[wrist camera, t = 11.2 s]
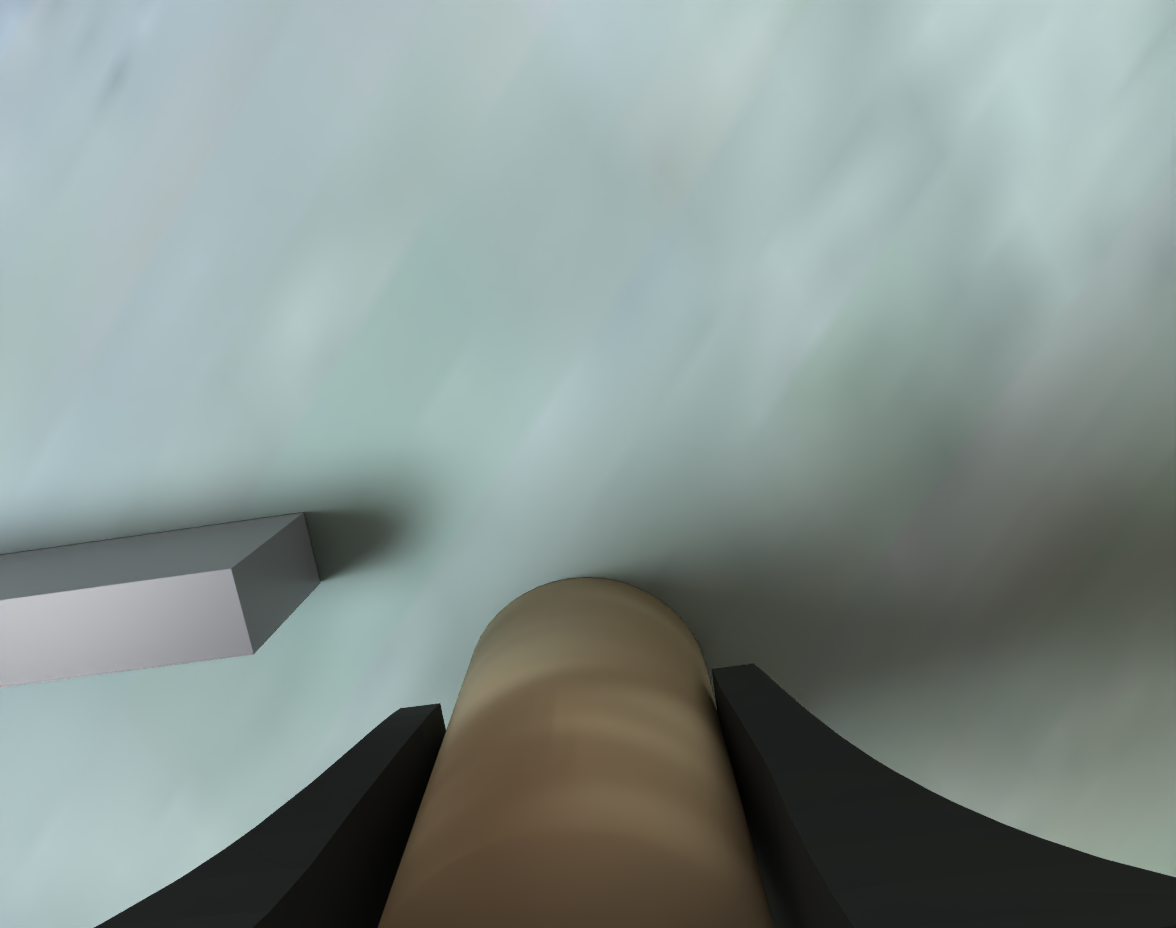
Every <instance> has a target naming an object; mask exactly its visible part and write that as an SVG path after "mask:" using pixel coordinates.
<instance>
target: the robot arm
mask: <svg viewBox="0 0 1176 928" xmlns="http://www.w3.org/2000/svg"><path fill="white" fill-rule="evenodd" d="M712 674H713V682H714V690H715V698H716V706H717V712H718V716H719V720H720V724H721V727H722V731H723V735H724V739H725V742H726V746H727V750H728V753H729V757H730V760H731V763H732V767H733V771H734V775H735V778H736V782H737V786H738V790H739V793H740V797H741V801H742V805H743V809H744V812H745V816H746V820H747V824H748V827H749V831H750V835H751V839H752V843H753V846H754V850H755V854H756V858H757V861H758V865H759V869H760V873H761V876H762V880H763V884H764V888H765V892H766V895H767V899H768V903H769V907H770V910H771V914H772V918H773V922H774V926H775V928H1176V877H1172V876H1168V875H1164V874H1160V873H1156V872H1152V871H1149V870H1145V869H1141V868H1137V867H1133V866H1129V865H1125V864H1121V863H1118V862H1114V861H1110V860H1106V859H1103V858H1100V857H1096V856H1093V855H1090V854H1087V853H1084V852H1081V851H1078V850H1075V849H1072V848H1069V847H1066V846H1063V845H1060V844H1057V843H1054V842H1051V841H1048V840H1045V839H1042V838H1039V837H1036V836H1034V835H1031V834H1029V833H1026V832H1023V831H1021V830H1018V829H1015V828H1013V827H1010V826H1007V825H1005V824H1002V823H1000V822H998V821H995V820H993V819H991V818H989V817H986V816H984V815H982V814H979V813H977V812H975V811H972V810H970V809H968V808H965V807H963V806H961V805H959V804H956V803H954V802H952V801H950V800H948V799H946V798H944V797H942V796H940V795H938V794H936V793H934V792H932V791H930V790H928V789H926V788H924V787H922V786H921V785H919V784H917V783H915V782H913V781H911V780H910V779H908V778H906V777H904V776H902V775H900V774H899V773H897V772H895V771H893V770H891V769H890V768H888V767H887V766H885V765H883V764H882V763H880V762H878V761H877V760H875V759H873V758H872V757H870V756H869V755H867V754H866V753H864V752H863V751H861V750H860V749H858V748H857V747H855V746H854V745H852V744H851V743H850V742H848V741H847V740H845V739H844V738H842V737H841V736H839V735H838V734H837V733H835V732H834V731H833V730H832V729H830V728H829V727H828V726H826V725H825V724H824V723H823V722H821V721H820V720H819V719H817V718H816V717H815V716H814V715H812V714H811V713H810V712H809V711H807V710H806V709H805V708H804V707H803V706H801V705H800V704H799V703H798V702H797V701H796V700H794V699H793V698H792V697H791V696H790V695H789V694H788V693H786V692H785V691H784V690H783V689H782V688H781V687H780V686H779V685H777V684H776V683H775V682H774V681H773V680H772V679H771V678H770V677H769V676H768V675H767V674H765V673H764V672H763V671H762V670H761V669H760V668H758V667H757V666H756V665H755V664H749V665H741V666H733V667H725V668H717V669H712ZM445 733H446V729H445V724H444V719H443V715H442V710H441V705H440V703H439V704H431V705H423V706H416V707H408V708H400V709H399V710H397V711H396V712H394V713H393V714H392V715H390V716H389V717H388V718H386V719H385V720H384V721H383V722H382V723H380V724H379V725H378V726H377V727H376V728H374V729H373V730H372V731H371V732H370V733H369V734H367V735H366V736H365V737H364V738H363V739H362V740H360V741H359V742H358V743H357V744H356V745H355V746H354V747H352V748H351V749H350V750H349V751H348V752H347V753H345V754H344V755H343V756H342V757H341V758H340V759H339V760H337V761H336V762H335V763H334V764H333V765H332V766H330V767H329V768H328V769H327V770H326V771H325V772H323V773H322V774H321V775H320V776H319V777H318V778H316V779H315V780H314V781H313V782H312V783H310V784H309V785H308V786H307V787H305V788H304V789H303V790H302V791H300V792H299V793H298V794H297V795H295V796H294V797H293V798H292V799H290V800H289V801H288V802H286V803H285V804H284V805H283V806H281V807H280V808H279V809H278V810H276V811H275V812H274V813H273V814H271V815H270V816H269V817H268V818H266V819H265V820H264V821H262V822H261V823H260V824H259V825H257V826H256V827H255V828H253V829H252V830H251V831H249V832H248V833H247V834H245V835H244V836H242V837H241V838H240V839H238V840H237V841H235V842H234V843H232V844H231V845H230V846H228V847H227V848H225V849H224V850H222V851H221V852H219V853H218V854H216V855H215V856H213V857H212V858H210V859H209V860H207V861H206V862H204V863H203V864H201V865H200V866H198V867H197V868H195V869H194V870H192V871H191V872H189V873H188V874H186V875H184V876H183V877H181V878H180V879H178V880H176V881H175V882H173V883H172V884H170V885H168V886H166V887H165V888H163V889H161V890H159V891H158V892H156V893H154V894H152V895H151V896H149V897H147V898H145V899H144V900H142V901H140V902H138V903H137V904H135V905H133V906H131V907H130V908H128V909H126V910H125V911H123V912H121V913H119V914H118V915H116V916H114V917H112V918H111V919H109V920H107V921H105V922H104V923H102V924H100V925H98V926H96V927H94V928H378V925H379V922H380V919H381V917H382V914H383V911H384V908H385V905H386V902H387V899H388V896H389V894H390V891H391V888H392V885H393V882H394V879H395V876H396V874H397V871H398V868H399V865H400V862H401V859H402V856H403V853H404V851H405V848H406V845H407V842H408V839H409V836H410V833H411V831H412V828H413V825H414V822H415V819H416V816H417V813H418V810H419V808H420V805H421V802H422V799H423V796H424V793H425V790H426V788H427V785H428V782H429V779H430V776H431V773H432V770H433V767H434V765H435V762H436V759H437V756H438V753H439V750H440V747H441V745H442V742H443V739H444V736H445Z"/></svg>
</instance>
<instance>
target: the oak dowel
mask: <svg viewBox="0 0 1176 928" xmlns="http://www.w3.org/2000/svg"><path fill="white" fill-rule="evenodd" d="M378 928H775V926H774V922H773V918H772V914H771V910H770V907H769V903H768V899H767V895H766V892H765V888H764V884H763V880H762V876H761V873H760V869H759V865H758V861H757V858H756V854H755V850H754V846H753V843H752V839H751V835H750V831H749V827H748V824H747V820H746V816H745V812H744V809H743V805H742V801H741V797H740V793H739V790H738V786H737V782H736V778H735V775H734V771H733V767H732V763H731V760H730V757H729V753H728V750H727V746H726V742H725V739H724V735H723V731H722V727H721V724H720V720H719V716H718V712H717V707H716V703H715V699H714V695H713V692H712V688H711V684H710V680H709V676H708V673H707V669H706V665H705V661H704V659H703V656H702V653H701V650H700V647H699V645H698V644H697V642H696V640H695V638H694V636H693V634H692V633H691V631H690V630H689V629H688V627H687V626H686V624H685V623H684V622H683V621H682V620H681V618H680V617H679V616H678V615H677V614H676V613H675V612H674V611H673V610H672V609H670V608H669V607H668V606H667V605H665V604H664V603H663V602H662V601H660V600H659V599H657V598H655V597H654V596H652V595H651V594H649V593H647V592H645V591H643V590H641V589H638V588H636V587H634V586H631V585H628V584H625V583H621V582H618V581H613V580H607V579H601V578H574V579H566V580H561V581H556V582H552V583H549V584H546V585H543V586H540V587H537V588H535V589H533V590H531V591H529V592H527V593H525V594H523V595H521V596H520V597H518V598H517V599H515V600H514V601H512V602H511V603H510V604H508V605H507V606H506V607H505V608H504V609H503V610H501V611H500V612H499V613H498V614H497V616H496V617H495V618H494V619H493V620H492V621H491V622H490V623H489V625H488V626H487V628H486V629H485V631H484V632H483V634H482V635H481V637H480V639H479V641H478V643H477V646H476V648H475V650H474V653H473V656H472V659H471V661H470V664H469V667H468V670H467V673H466V676H465V679H464V681H463V684H462V687H461V690H460V693H459V696H458V699H457V702H456V704H455V707H454V710H453V713H452V716H451V719H450V722H449V724H448V727H447V730H446V733H445V736H444V739H443V742H442V745H441V747H440V750H439V753H438V756H437V759H436V762H435V765H434V767H433V770H432V773H431V776H430V779H429V782H428V785H427V788H426V790H425V793H424V796H423V799H422V802H421V805H420V808H419V810H418V813H417V816H416V819H415V822H414V825H413V828H412V831H411V833H410V836H409V839H408V842H407V845H406V848H405V851H404V853H403V856H402V859H401V862H400V865H399V868H398V871H397V874H396V876H395V879H394V882H393V885H392V888H391V891H390V894H389V896H388V899H387V902H386V905H385V908H384V911H383V914H382V917H381V919H380V922H379V925H378Z"/></svg>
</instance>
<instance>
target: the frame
mask: <svg viewBox="0 0 1176 928" xmlns="http://www.w3.org/2000/svg"><path fill="white" fill-rule="evenodd" d="M319 584H320V579H319V575H318V571H317V567H316V563H315V559H314V554H313V550H312V546H311V542H310V538H309V533H308V529H307V525H306V521H305V517H304V513H296V514H289V515H282V516H275V517H268V518H260V519H253V520H246V521H239V522H232V523H225V524H218V525H210V526H203V527H196V528H189V529H182V530H175V531H168V532H161V533H153V534H146V535H139V536H132V537H125V538H118V539H111V540H104V541H96V542H89V543H82V544H75V545H68V546H61V547H54V548H47V549H39V550H32V551H25V552H18V553H11V554H4V555H0V687H8V686H15V685H23V684H31V683H38V682H46V681H54V680H61V679H69V678H76V677H84V676H92V675H99V674H107V673H115V672H122V671H130V670H137V669H145V668H153V667H160V666H168V665H176V664H183V663H191V662H198V661H206V660H214V659H221V658H229V657H237V656H244V655H252V654H254V653H255V652H256V651H257V650H258V649H259V648H260V647H261V646H262V645H263V644H264V643H265V642H266V641H267V639H268V638H269V637H270V636H271V635H272V634H273V633H274V632H275V631H276V630H277V629H278V628H279V627H280V626H281V624H282V623H283V622H284V621H285V620H286V619H287V618H288V617H289V616H290V615H291V614H292V613H293V612H294V611H295V610H296V608H297V607H298V606H299V605H300V604H301V603H302V602H303V601H304V600H305V599H306V598H307V597H308V596H309V595H310V593H311V592H312V591H313V590H314V589H315V588H316V587H317V586H318V585H319Z"/></svg>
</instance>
